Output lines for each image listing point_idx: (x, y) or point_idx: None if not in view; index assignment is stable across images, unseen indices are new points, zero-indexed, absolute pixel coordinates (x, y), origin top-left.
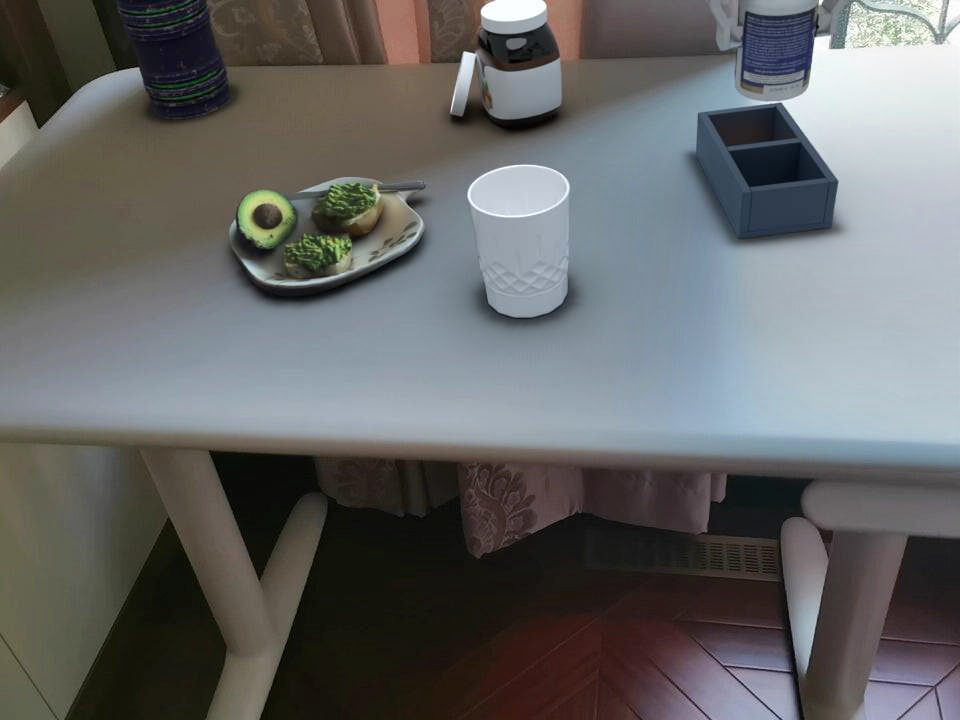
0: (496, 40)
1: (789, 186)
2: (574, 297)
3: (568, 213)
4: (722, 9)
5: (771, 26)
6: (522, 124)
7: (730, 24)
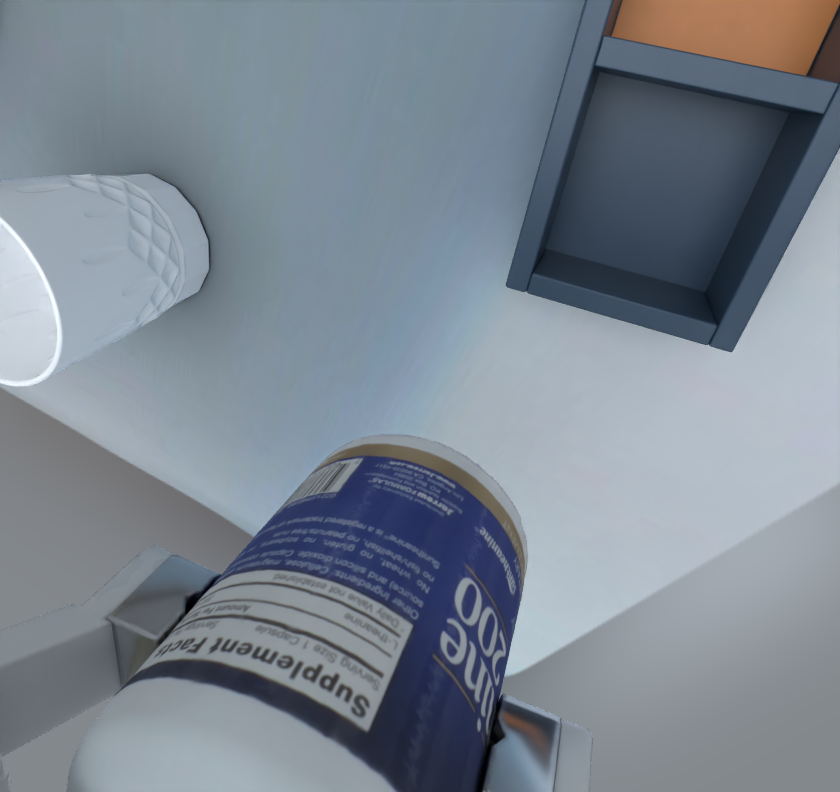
0: None
1: (613, 316)
2: (220, 280)
3: (95, 336)
4: (10, 751)
5: None
6: None
7: (105, 694)
